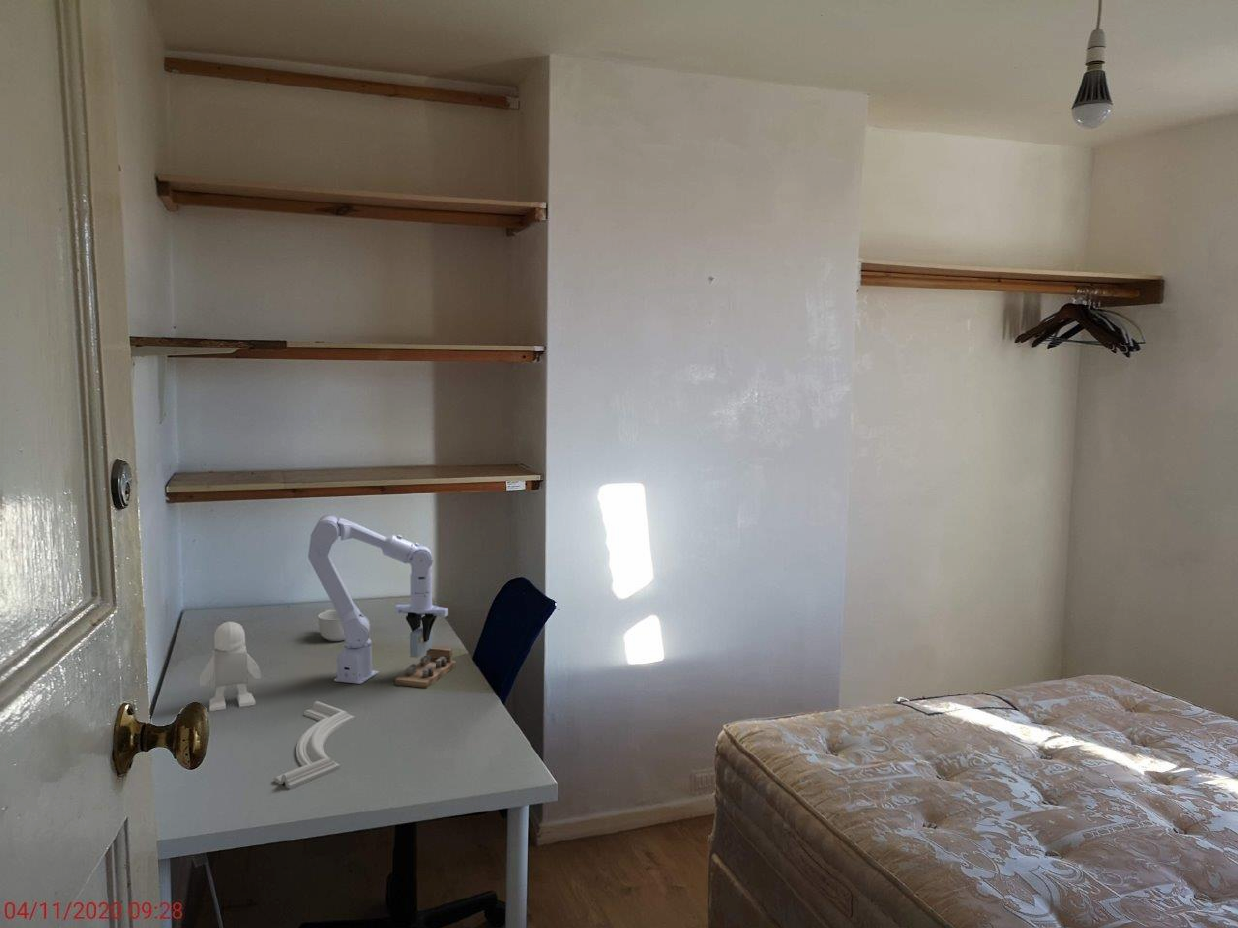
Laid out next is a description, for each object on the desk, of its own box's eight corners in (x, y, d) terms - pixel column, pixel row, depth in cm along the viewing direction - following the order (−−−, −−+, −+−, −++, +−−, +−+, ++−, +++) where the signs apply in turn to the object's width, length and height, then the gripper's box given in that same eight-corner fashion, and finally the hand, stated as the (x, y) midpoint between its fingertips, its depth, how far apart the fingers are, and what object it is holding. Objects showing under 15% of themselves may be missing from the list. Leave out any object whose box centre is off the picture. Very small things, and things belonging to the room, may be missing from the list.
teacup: (359, 640, 267) (359, 614, 266) (323, 645, 261) (322, 619, 260) (347, 629, 279) (347, 604, 278) (312, 633, 273) (311, 608, 272)
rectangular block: (420, 657, 233) (419, 634, 233) (410, 657, 234) (409, 633, 233) (435, 646, 243) (435, 623, 242) (426, 645, 244) (426, 622, 243)
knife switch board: (427, 687, 227) (426, 669, 227) (395, 684, 229) (395, 666, 229) (455, 666, 245) (455, 648, 244) (426, 663, 247) (426, 645, 246)
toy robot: (200, 712, 209) (198, 630, 207) (199, 700, 216) (197, 620, 214) (263, 703, 215) (261, 623, 213) (260, 691, 223) (258, 614, 221)
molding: (306, 711, 212) (306, 699, 212) (358, 708, 214) (358, 697, 214) (269, 793, 170) (269, 778, 170) (334, 788, 173) (334, 774, 172)
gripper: (452, 589, 239) (452, 638, 241) (403, 586, 242) (404, 634, 244) (441, 595, 232) (441, 645, 234) (391, 592, 236) (392, 641, 237)
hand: (421, 640), depth 238 cm, fingers closed on rectangular block, 2 cm apart
